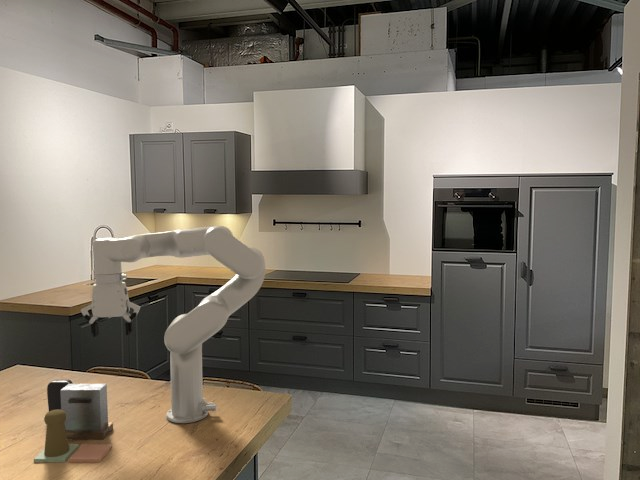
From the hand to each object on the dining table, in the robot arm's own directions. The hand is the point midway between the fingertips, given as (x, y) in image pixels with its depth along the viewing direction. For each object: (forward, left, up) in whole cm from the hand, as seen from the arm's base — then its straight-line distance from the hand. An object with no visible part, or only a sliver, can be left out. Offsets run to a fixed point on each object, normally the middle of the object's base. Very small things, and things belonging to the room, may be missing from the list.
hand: (112, 334), depth 164 cm
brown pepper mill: (+7, +23, -26) cm, 35 cm away
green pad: (+7, +23, -26) cm, 35 cm away
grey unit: (+4, +11, -26) cm, 29 cm away
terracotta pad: (-2, +23, -26) cm, 35 cm away
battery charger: (+17, -2, -26) cm, 32 cm away
